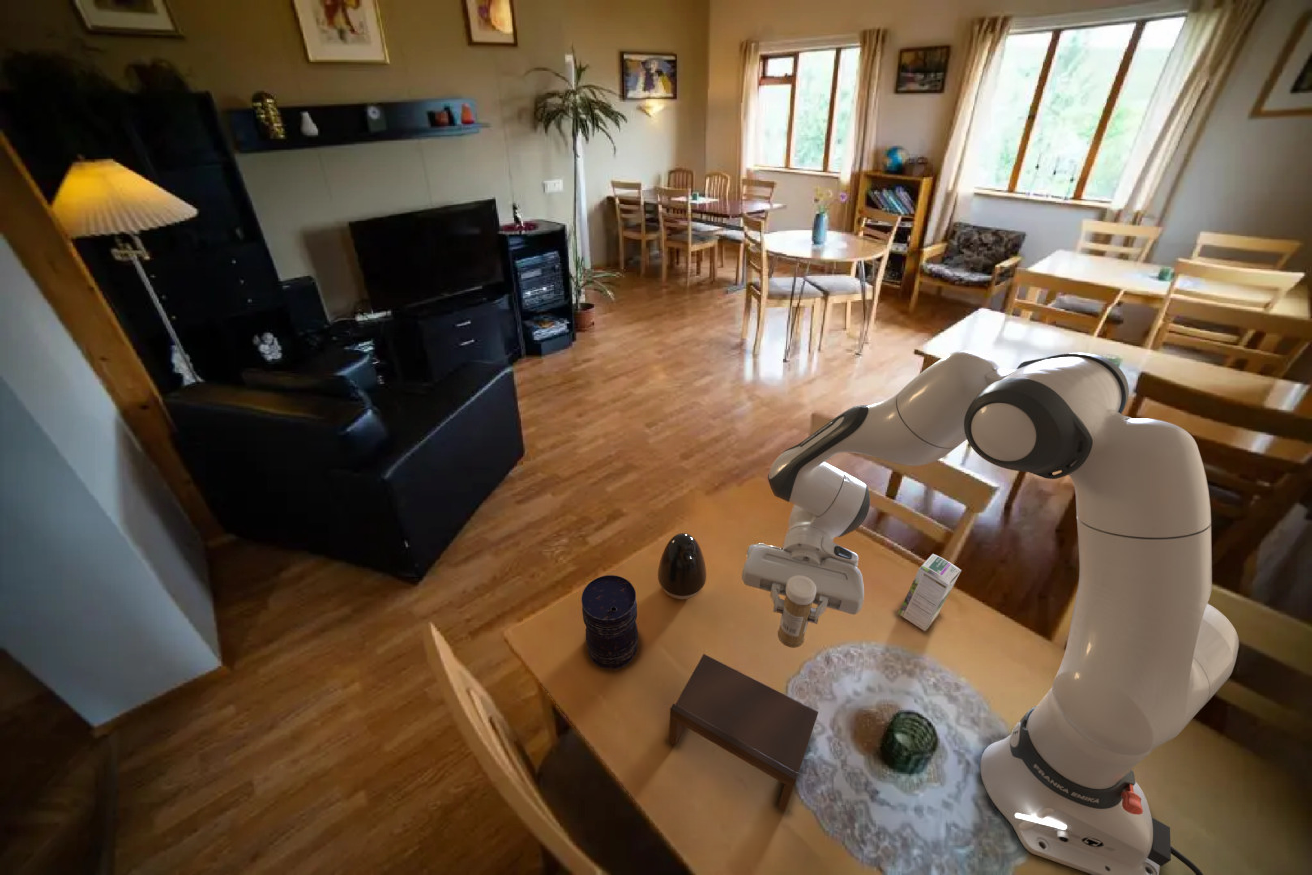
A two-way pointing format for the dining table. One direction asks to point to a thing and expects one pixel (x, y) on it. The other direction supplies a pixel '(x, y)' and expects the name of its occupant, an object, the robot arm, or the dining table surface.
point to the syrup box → (929, 591)
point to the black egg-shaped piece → (682, 567)
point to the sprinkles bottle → (796, 610)
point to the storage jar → (610, 621)
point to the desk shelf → (745, 720)
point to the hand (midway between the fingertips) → (795, 615)
